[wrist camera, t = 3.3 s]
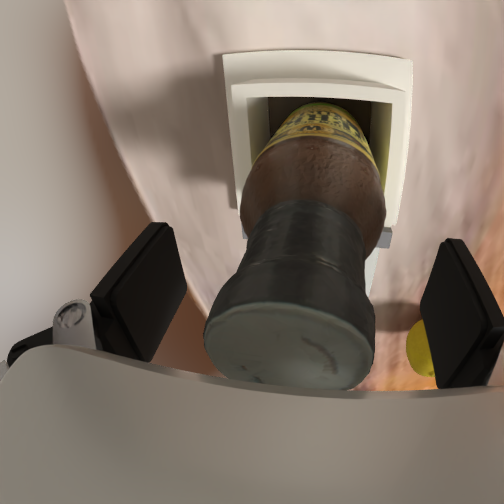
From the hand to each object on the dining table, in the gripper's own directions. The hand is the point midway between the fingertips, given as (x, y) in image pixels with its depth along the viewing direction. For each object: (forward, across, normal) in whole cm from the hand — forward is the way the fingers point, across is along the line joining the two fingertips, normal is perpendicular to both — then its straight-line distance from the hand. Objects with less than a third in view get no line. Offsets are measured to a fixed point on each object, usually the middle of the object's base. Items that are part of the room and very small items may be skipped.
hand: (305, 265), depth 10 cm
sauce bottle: (+16, 0, -1) cm, 16 cm away
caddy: (+16, 0, -1) cm, 16 cm away
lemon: (+16, -14, +19) cm, 29 cm away
